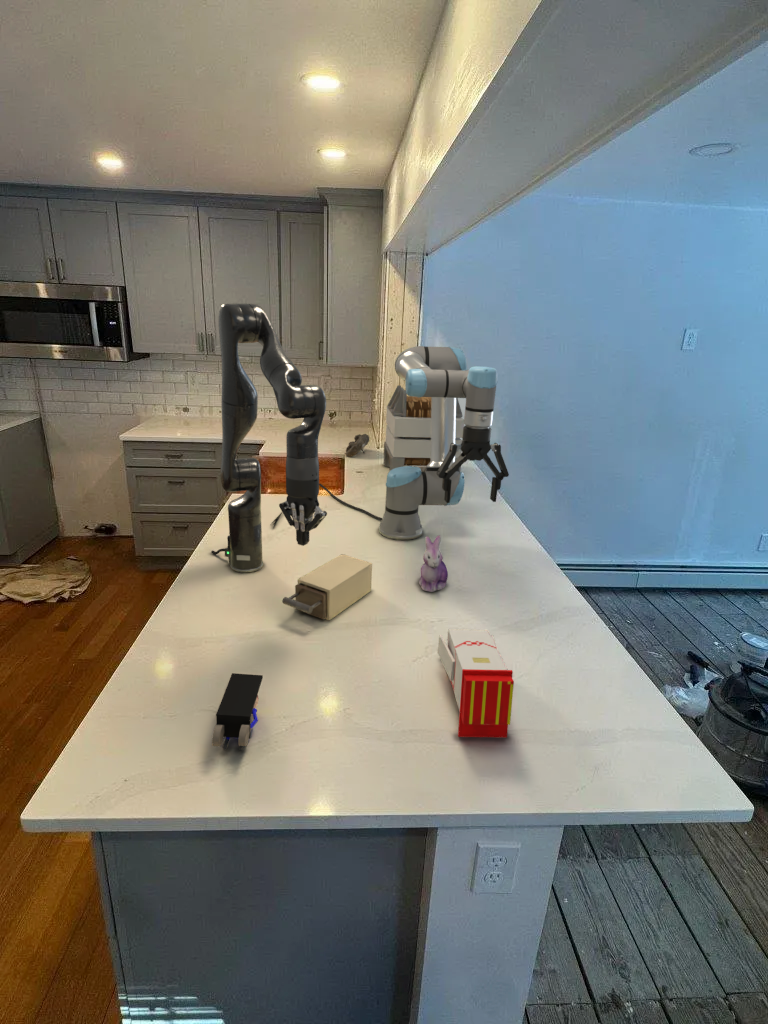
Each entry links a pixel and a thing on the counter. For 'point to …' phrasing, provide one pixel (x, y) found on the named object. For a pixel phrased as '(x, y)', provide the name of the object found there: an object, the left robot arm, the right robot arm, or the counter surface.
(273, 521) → the feather
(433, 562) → the figurine
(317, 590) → the drawer
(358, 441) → the fossil
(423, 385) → the right robot arm
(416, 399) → the grey slatted crate
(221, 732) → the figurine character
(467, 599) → the counter surface
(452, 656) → the toy
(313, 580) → the cabinet
